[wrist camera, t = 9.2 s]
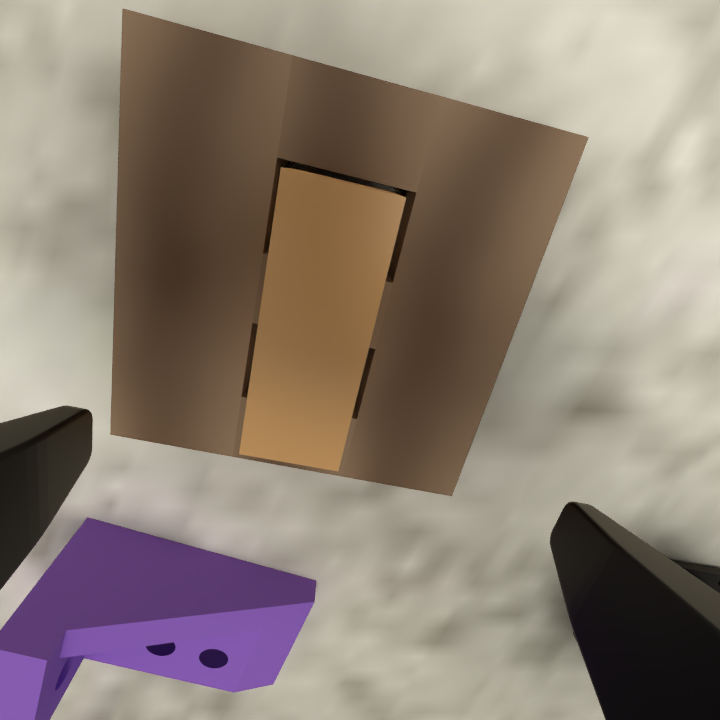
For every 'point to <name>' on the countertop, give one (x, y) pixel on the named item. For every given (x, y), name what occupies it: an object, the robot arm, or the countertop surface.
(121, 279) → the brown slotted square board
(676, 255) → the countertop surface
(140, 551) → the bracket
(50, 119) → the countertop surface
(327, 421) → the tan wooden block
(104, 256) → the countertop surface
